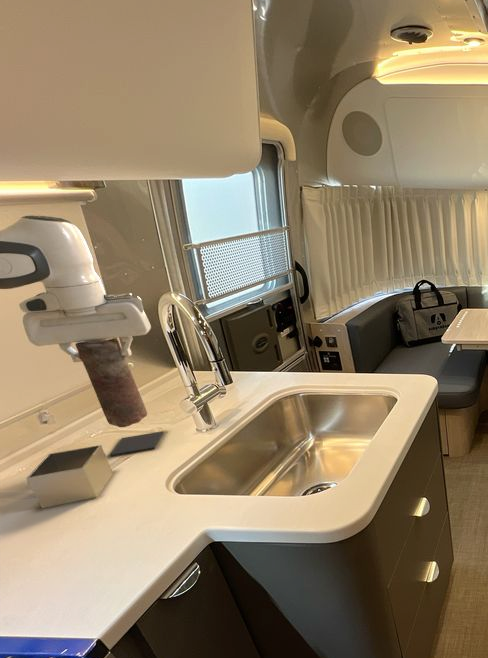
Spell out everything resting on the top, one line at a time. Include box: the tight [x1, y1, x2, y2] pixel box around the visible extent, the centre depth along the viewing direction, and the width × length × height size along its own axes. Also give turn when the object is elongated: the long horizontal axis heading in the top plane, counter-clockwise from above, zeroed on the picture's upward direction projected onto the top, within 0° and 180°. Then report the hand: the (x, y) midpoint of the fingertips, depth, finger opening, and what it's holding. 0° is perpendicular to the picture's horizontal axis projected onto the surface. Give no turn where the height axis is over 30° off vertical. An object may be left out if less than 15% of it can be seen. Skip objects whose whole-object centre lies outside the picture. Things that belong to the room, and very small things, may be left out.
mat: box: [110, 431, 164, 457], centre depth 116 cm, size 8×8×1 cm
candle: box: [75, 338, 148, 428], centre depth 109 cm, size 8×7×20 cm
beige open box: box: [26, 444, 114, 509], centre depth 98 cm, size 9×10×7 cm
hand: (103, 358), depth 107 cm, fingers closed on candle, 7 cm apart
